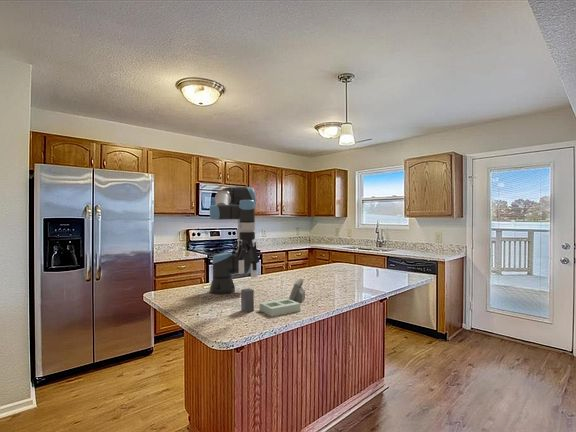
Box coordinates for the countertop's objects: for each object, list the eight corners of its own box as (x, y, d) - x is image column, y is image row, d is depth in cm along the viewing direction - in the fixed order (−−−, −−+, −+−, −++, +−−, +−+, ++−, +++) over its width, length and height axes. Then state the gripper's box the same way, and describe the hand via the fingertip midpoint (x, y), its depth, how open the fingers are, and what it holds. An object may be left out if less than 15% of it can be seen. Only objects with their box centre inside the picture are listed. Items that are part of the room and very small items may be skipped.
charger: (241, 310, 158) (241, 287, 158) (249, 308, 160) (249, 286, 160) (245, 312, 154) (245, 289, 154) (253, 310, 157) (253, 288, 157)
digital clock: (295, 295, 186) (295, 277, 186) (309, 297, 182) (309, 278, 182) (282, 302, 171) (282, 282, 171) (298, 304, 167) (298, 284, 167)
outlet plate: (259, 310, 158) (259, 303, 158) (286, 305, 166) (286, 298, 166) (271, 316, 148) (271, 308, 148) (300, 310, 156) (300, 303, 156)
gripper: (229, 231, 166) (230, 272, 166) (251, 232, 145) (252, 279, 145) (243, 230, 170) (243, 271, 170) (266, 232, 149) (266, 278, 149)
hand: (247, 275), depth 157 cm, fingers open, 13 cm apart
